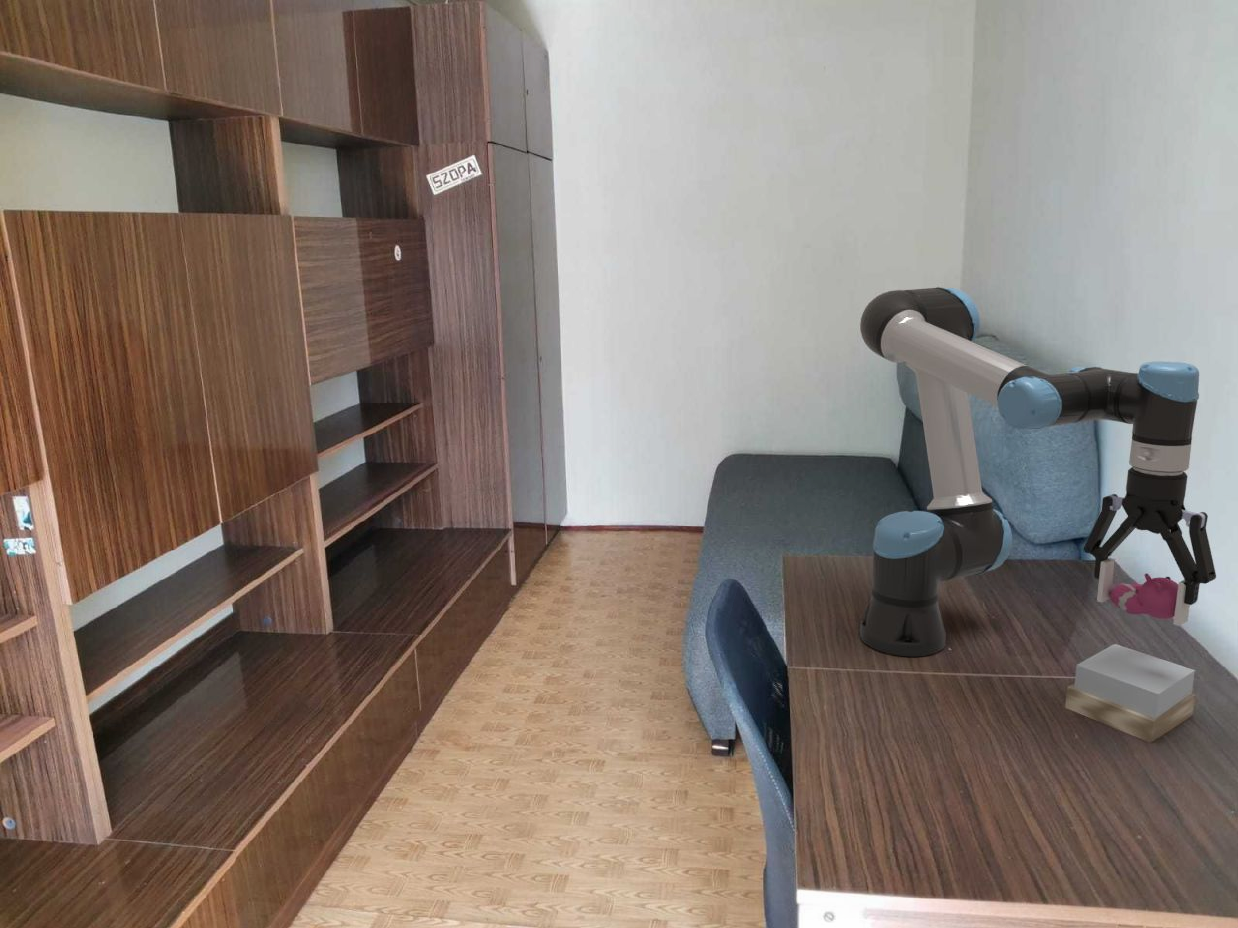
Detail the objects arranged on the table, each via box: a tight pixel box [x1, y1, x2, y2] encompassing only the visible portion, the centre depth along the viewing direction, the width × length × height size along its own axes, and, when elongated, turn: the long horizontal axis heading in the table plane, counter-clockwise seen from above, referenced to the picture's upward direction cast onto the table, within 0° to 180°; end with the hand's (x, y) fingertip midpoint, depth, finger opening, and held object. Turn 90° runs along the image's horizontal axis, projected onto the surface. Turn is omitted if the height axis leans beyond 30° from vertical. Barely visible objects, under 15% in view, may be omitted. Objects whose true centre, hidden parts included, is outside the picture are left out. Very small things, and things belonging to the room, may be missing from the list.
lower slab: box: [1064, 682, 1196, 744], centre depth 142 cm, size 13×13×4 cm
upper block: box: [1074, 643, 1196, 719], centre depth 141 cm, size 12×12×4 cm
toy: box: [1109, 573, 1179, 620], centre depth 139 cm, size 11×9×10 cm
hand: (1140, 610), depth 138 cm, fingers closed on toy, 10 cm apart
